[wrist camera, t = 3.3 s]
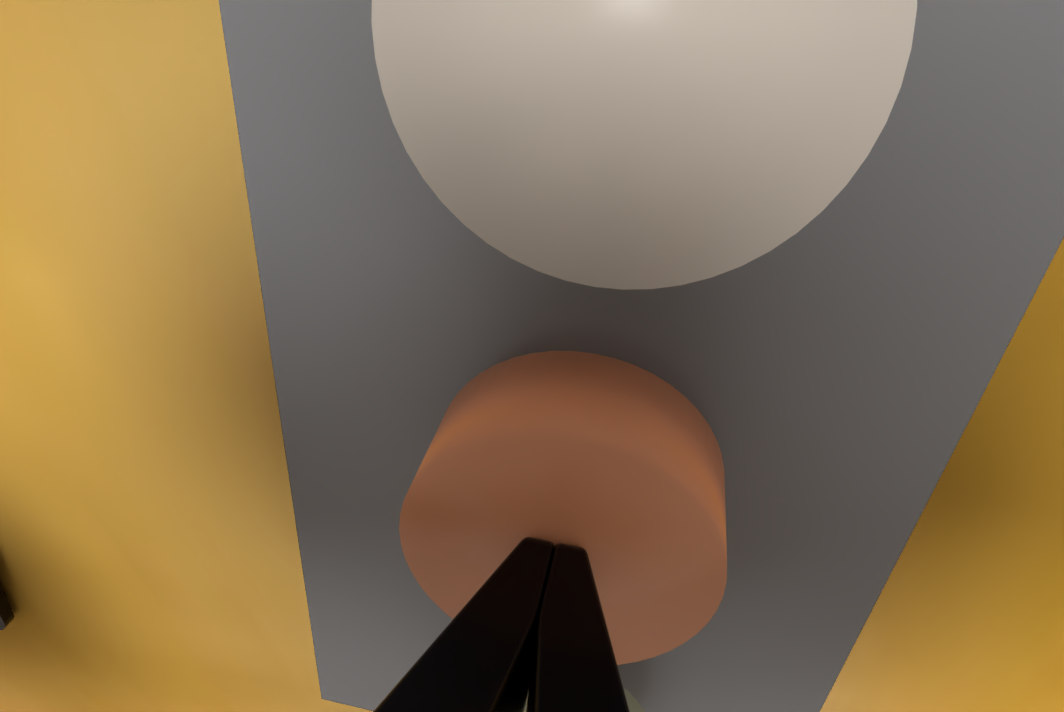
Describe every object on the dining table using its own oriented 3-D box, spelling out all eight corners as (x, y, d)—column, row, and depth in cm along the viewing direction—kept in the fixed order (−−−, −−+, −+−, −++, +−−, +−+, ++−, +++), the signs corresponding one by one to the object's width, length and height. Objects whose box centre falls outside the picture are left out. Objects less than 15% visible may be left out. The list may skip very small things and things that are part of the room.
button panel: (369, 595, 21) (321, 698, 19) (297, -369, 10) (151, -449, 7) (763, 680, 20) (771, 804, 17) (1184, -318, 9) (1389, -396, 6)
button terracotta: (437, 542, 13) (402, 629, 12) (438, 327, 11) (394, 403, 9) (692, 594, 12) (691, 692, 11) (756, 381, 10) (765, 470, 9)
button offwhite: (433, 189, 9) (381, 252, 8) (433, -277, 7) (357, -317, 5) (801, 244, 9) (820, 322, 7) (947, -241, 6) (1022, -274, 5)
